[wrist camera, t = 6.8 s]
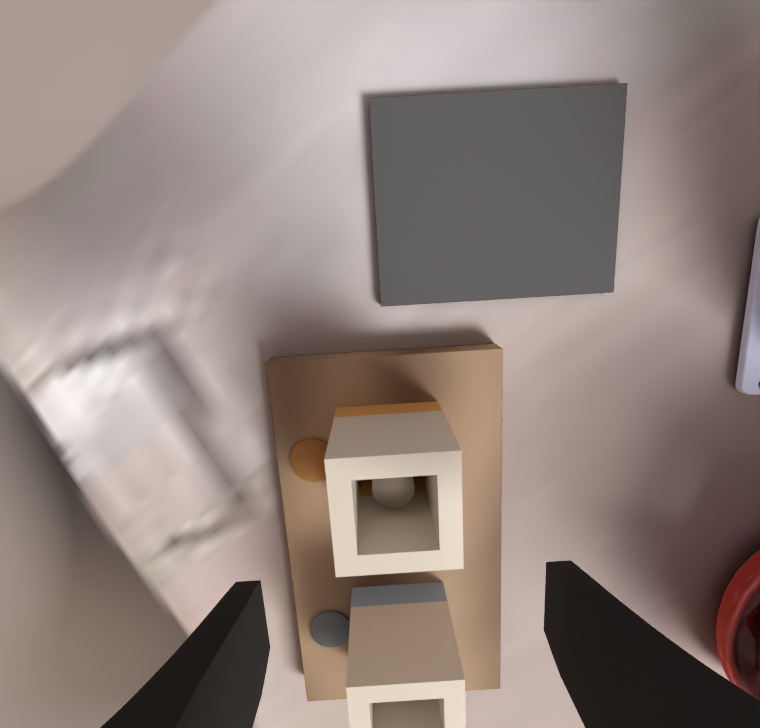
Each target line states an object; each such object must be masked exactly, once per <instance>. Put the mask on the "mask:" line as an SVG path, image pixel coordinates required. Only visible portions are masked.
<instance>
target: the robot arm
mask: <svg viewBox="0 0 760 728" xmlns="http://www.w3.org/2000/svg"><path fill="white" fill-rule="evenodd" d="M759 381H760V218H759V220H758V224H757V231H756V238H755V245H754V253H753V260H752V267H751V274H750V281H749V289H748V296H747V303H746V310H745V318H744V325H743V332H742V339H741V346H740V354H739V361H738V368H737V375H736V383H735V384H736V389H737V390H738V391H739V392H741V393H744V394H747V395H757V394H760V385H759V386H758V383H759ZM544 631H545V634H546V637H547V640H548V643H549V646H550V649H551V651H552V654H553V657H554V660H555V662H556V665H557V668H558V670H559V673H560V676H561V678H562V680H563V682H564V684H565V686H566V688H567V690H568V692H569V695H570V697H571V699H572V701H573V703H574V705H575V707H576V709H577V711H578V713H579V715H580V717H581V719H582V722H583V724H584V726H585V728H760V700H758V699H756V698H755V697H753V696H752V695H750V694H749V693H747V692H746V691H744V690H742V689H741V688H739V687H738V686H736V685H735V684H733V683H732V682H730V681H728V680H727V679H725V678H724V677H722V676H721V675H719V674H718V673H716V672H715V671H713V670H712V669H710V668H709V667H707V666H706V665H704V664H703V663H701V662H700V661H699V660H697V659H696V658H694V657H693V656H692V655H690V654H689V653H687V652H686V651H685V650H683V649H682V648H680V647H679V646H678V645H676V644H675V643H673V642H672V641H671V640H669V639H668V638H667V637H665V636H664V635H663V634H661V633H660V632H659V631H657V630H656V629H655V628H653V627H652V626H651V625H650V624H648V623H647V622H646V621H644V620H643V619H642V618H641V617H639V616H638V615H637V614H635V613H634V612H633V611H632V610H630V609H629V608H628V607H627V606H625V605H624V604H623V603H622V602H620V601H619V600H618V599H617V598H616V597H614V596H613V595H612V594H611V593H609V592H608V591H607V590H606V589H605V588H603V587H602V586H601V585H600V584H599V583H597V582H596V581H595V580H594V579H593V578H591V577H590V576H589V575H588V574H587V573H585V572H584V571H583V570H582V569H580V568H579V567H578V566H577V565H575V564H574V563H573V562H572V561H557V562H546V586H545V614H544ZM269 651H270V643H269V636H268V630H267V623H266V616H265V609H264V602H263V595H262V588H261V581H260V580H259V581H243V582H236V583H235V584H234V585H233V586H232V587H231V588H230V589H229V591H228V592H227V593H226V594H225V595H224V596H223V598H222V599H221V600H220V601H219V602H218V604H217V605H216V606H215V607H214V608H213V609H212V611H211V612H210V613H209V614H208V615H207V617H206V618H205V619H204V620H203V621H202V622H201V624H200V625H199V626H198V627H197V628H196V629H195V631H194V632H193V633H192V634H191V635H190V636H189V637H188V639H187V640H186V641H185V642H184V643H183V644H182V645H181V646H180V648H179V649H178V650H177V651H176V652H175V653H174V654H173V655H172V656H171V658H170V659H169V660H168V661H167V662H166V663H165V664H164V665H163V666H162V667H161V668H160V669H159V671H157V672H156V673H155V674H154V676H153V677H152V678H151V679H150V680H149V681H148V682H147V683H146V684H145V685H144V686H143V687H142V688H141V689H140V690H139V691H138V692H137V693H136V694H135V695H134V696H133V697H132V698H131V699H130V700H129V701H128V702H127V703H126V704H125V705H124V706H123V707H122V708H121V709H120V710H119V711H118V712H117V713H116V714H115V715H114V716H113V717H112V718H110V719H109V720H108V721H107V722H106V723H105V724H104V725H103V726H102V727H101V728H252V727H253V723H254V720H255V716H256V713H257V709H258V706H259V702H260V698H261V695H262V690H263V685H264V679H265V674H266V668H267V663H268V657H269Z"/></svg>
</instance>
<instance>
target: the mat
mask: <svg viewBox="0 0 760 728" xmlns="http://www.w3.org/2000/svg"><path fill="white" fill-rule="evenodd" d="M626 96H627V83H621V84H604V85H587V86H570V87H553V88H536V89H518V90H501V91H484V92H467V93H450V94H433V95H416V96H399V97H381V98H369V111H370V128H371V146H372V163H373V180H374V197H375V214H376V231H377V249H378V266H379V283H380V300H381V306H397V305H413V304H430V303H446V302H462V301H479V300H495V299H511V298H527V297H544V296H560V295H576V294H593V293H609V292H613V291H614V276H615V261H616V246H617V231H618V216H619V201H620V186H621V171H622V156H623V141H624V126H625V111H626Z"/></svg>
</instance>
